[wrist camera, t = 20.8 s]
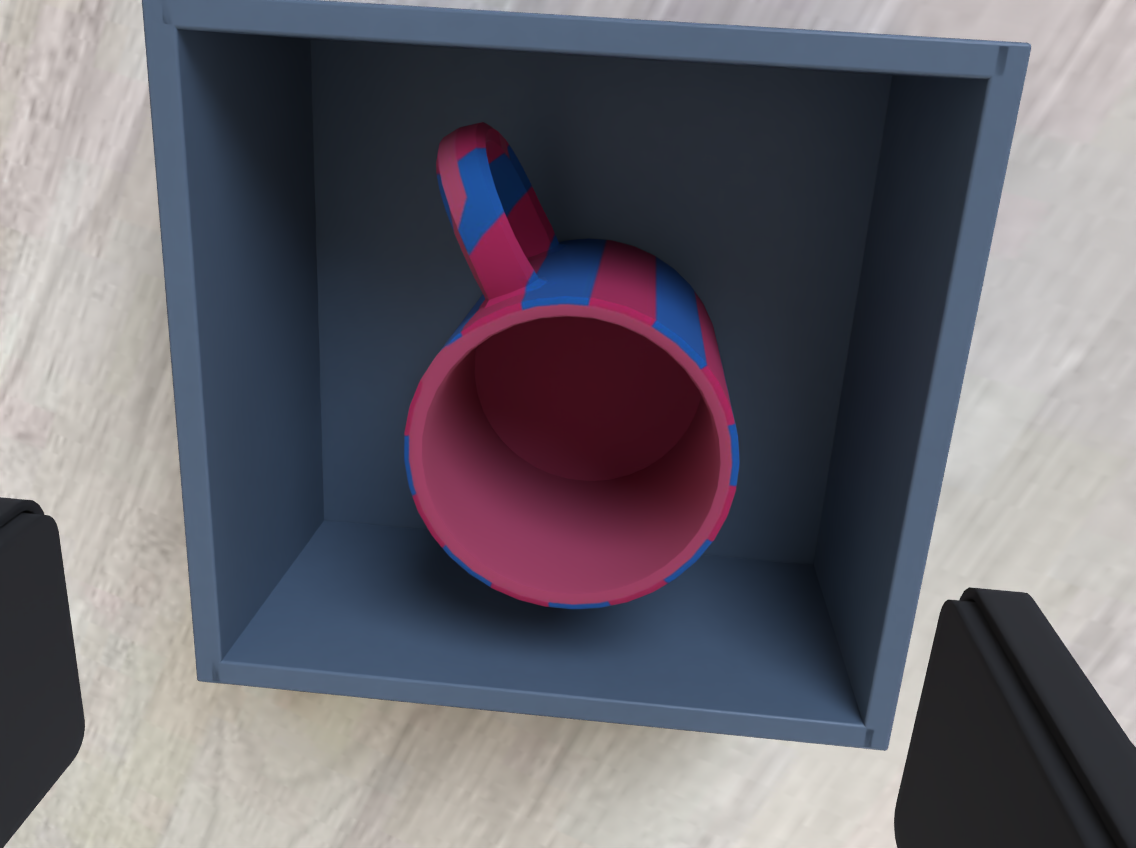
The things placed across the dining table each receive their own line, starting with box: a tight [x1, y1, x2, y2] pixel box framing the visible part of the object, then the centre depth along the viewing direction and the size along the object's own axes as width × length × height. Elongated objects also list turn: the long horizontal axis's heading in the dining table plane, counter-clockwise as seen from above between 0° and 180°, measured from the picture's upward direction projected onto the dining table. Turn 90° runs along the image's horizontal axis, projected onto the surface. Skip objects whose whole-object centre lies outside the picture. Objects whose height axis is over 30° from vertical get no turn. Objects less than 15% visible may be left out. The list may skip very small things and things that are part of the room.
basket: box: [142, 0, 1031, 751], centre depth 23 cm, size 8×14×15 cm
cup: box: [404, 122, 740, 609], centre depth 22 cm, size 7×10×7 cm
